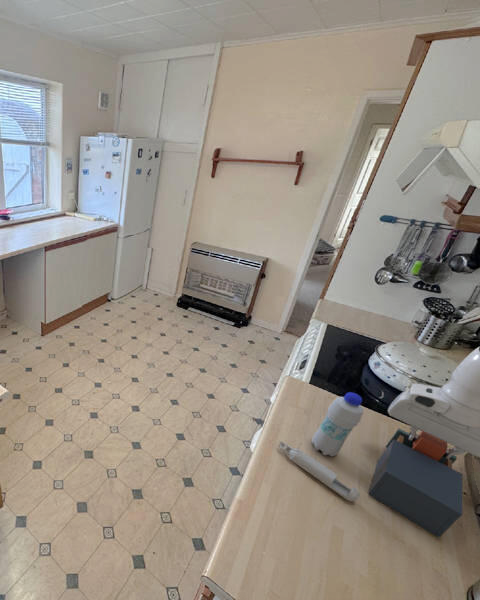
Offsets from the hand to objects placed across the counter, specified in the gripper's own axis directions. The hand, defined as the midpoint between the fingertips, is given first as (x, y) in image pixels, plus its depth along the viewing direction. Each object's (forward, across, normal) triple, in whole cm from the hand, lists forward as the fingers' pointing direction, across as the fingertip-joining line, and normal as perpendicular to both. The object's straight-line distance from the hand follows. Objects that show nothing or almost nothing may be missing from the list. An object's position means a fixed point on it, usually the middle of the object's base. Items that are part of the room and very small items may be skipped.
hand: (427, 447), depth 82 cm
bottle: (+9, +18, +12) cm, 23 cm away
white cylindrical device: (+9, +17, +23) cm, 30 cm away
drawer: (+8, 0, 0) cm, 8 cm away
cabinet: (+8, 0, +11) cm, 14 cm away
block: (+2, 0, 0) cm, 2 cm away
